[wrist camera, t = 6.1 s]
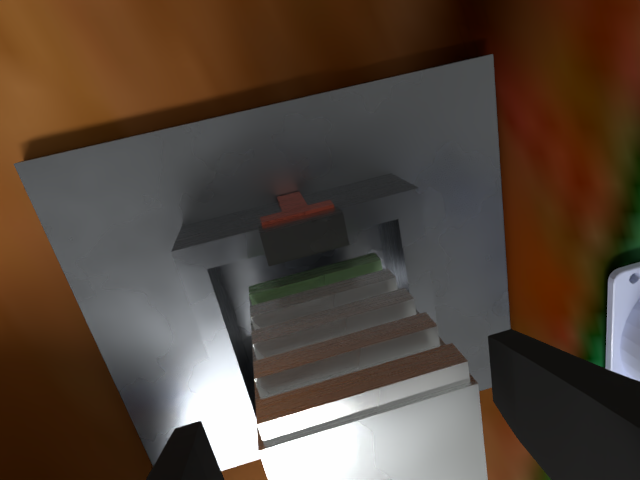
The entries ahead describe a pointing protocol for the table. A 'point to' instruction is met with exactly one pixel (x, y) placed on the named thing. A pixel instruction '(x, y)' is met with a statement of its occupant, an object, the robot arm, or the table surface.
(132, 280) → the stand base
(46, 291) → the table surface
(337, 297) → the layered block
